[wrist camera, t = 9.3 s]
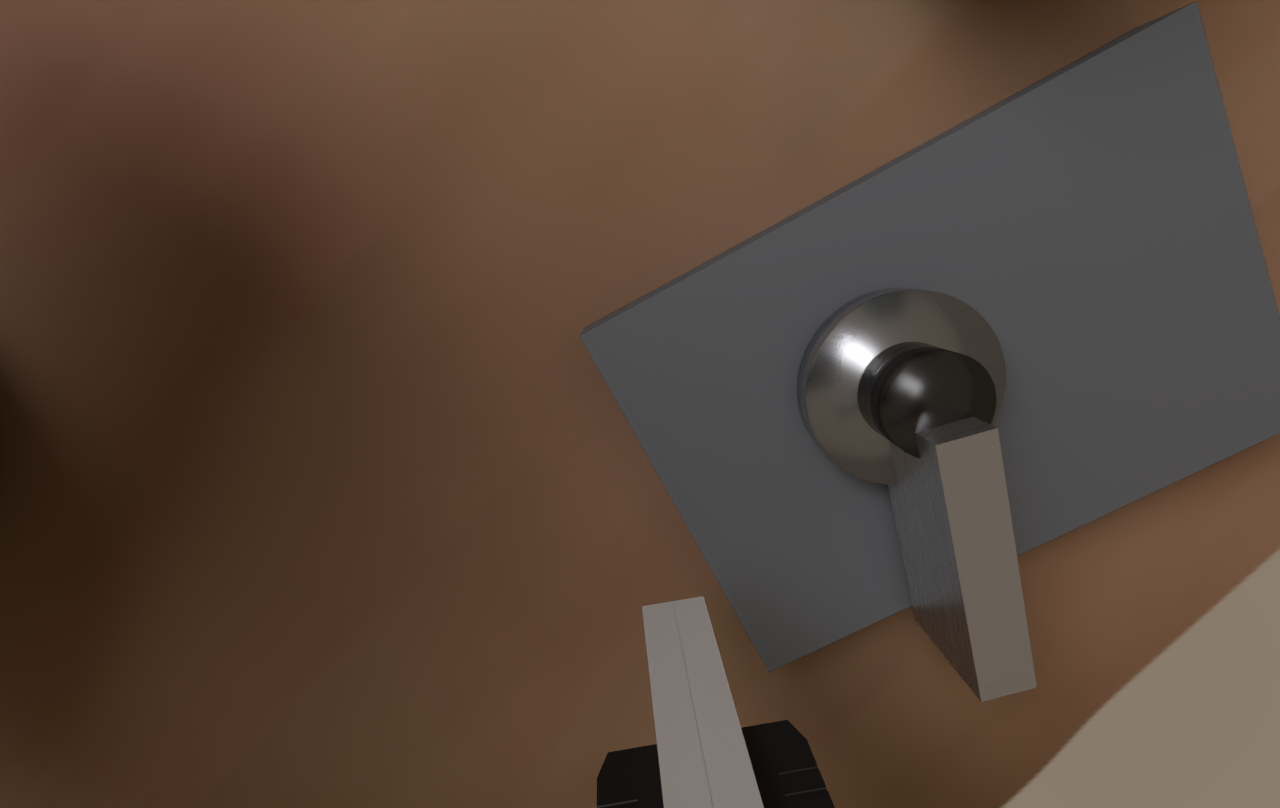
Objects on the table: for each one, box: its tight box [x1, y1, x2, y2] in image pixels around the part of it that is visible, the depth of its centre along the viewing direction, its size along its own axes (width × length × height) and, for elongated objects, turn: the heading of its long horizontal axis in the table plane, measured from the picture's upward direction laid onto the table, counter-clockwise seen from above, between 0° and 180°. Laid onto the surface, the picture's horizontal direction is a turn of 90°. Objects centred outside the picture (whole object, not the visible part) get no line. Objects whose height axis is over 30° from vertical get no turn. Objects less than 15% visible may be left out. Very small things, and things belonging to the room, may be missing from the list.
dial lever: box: [797, 288, 1037, 702], centre depth 18 cm, size 12×6×4 cm, turn 16°
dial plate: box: [580, 1, 1280, 672], centre depth 20 cm, size 14×20×2 cm
